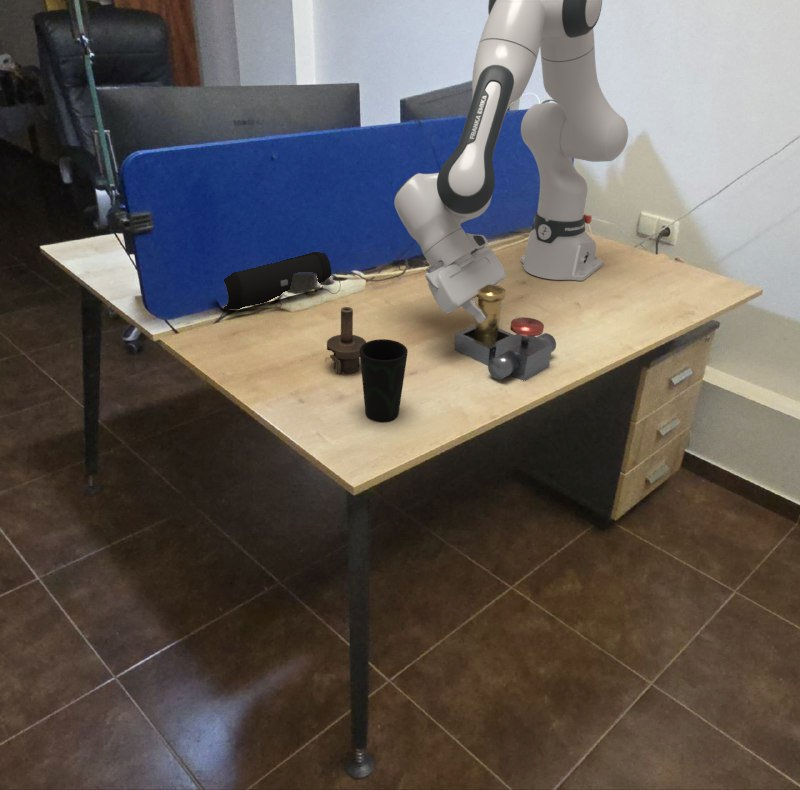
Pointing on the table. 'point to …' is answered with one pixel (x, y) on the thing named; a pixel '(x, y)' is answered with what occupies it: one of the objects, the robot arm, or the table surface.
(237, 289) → the portable speaker
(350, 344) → the industrial component
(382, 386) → the cup
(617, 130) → the robot arm
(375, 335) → the table surface
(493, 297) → the pipe stub
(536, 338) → the valve body
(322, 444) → the table surface
